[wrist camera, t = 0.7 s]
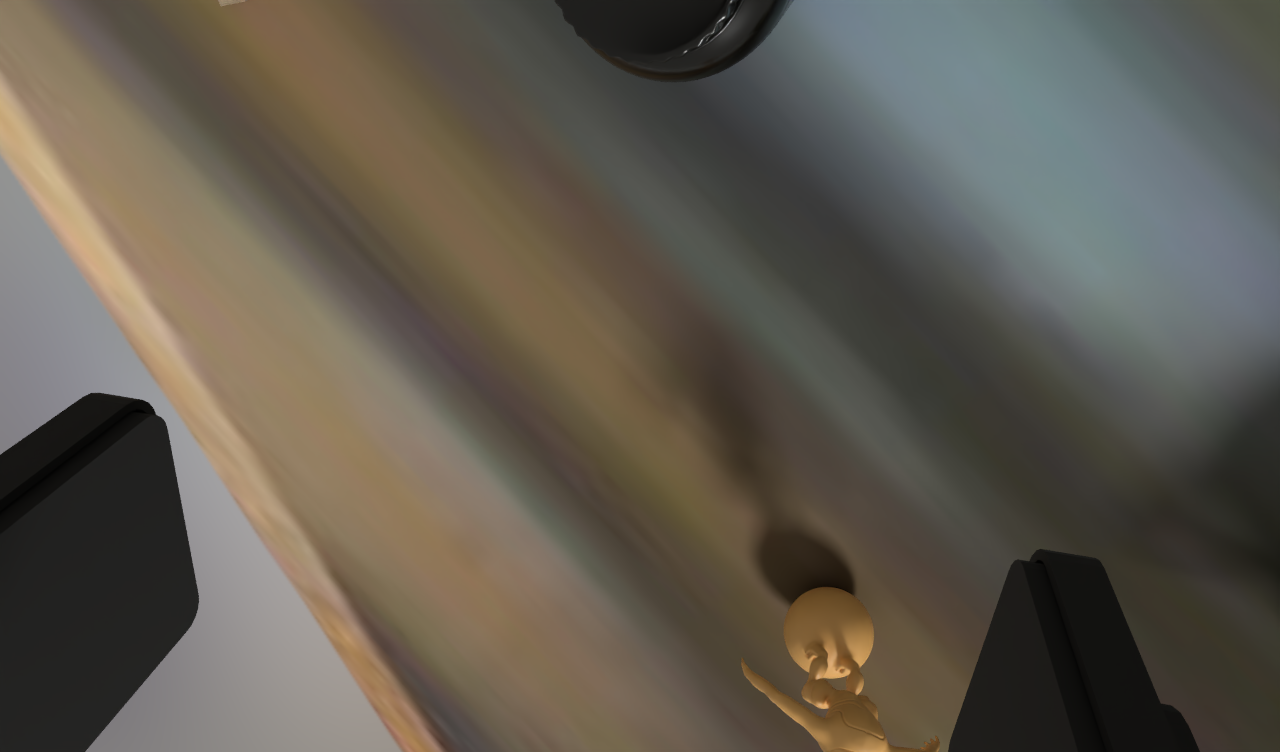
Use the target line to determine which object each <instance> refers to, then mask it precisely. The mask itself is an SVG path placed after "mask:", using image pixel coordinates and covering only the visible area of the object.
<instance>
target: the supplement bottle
mask: <svg viewBox="0 0 1280 752" xmlns="http://www.w3.org/2000/svg"><path fill="white" fill-rule="evenodd" d="M793 1H794V0H555V2H556V4H557V5H558V6H559V7H560V8H561V9H562V12H563V16H564V19H565V21H567V22H568V23H569V24H571V25H572V26H573V27H574V29H575V32H576V34H577V35H578V36H579V37H581V38H582V39H583V40H584V41H585V42H586V43H587V44H588V45H589V46H590V47H591V48H592V49H593V50H594V51H595V52H596V53H597V54H598V55H600V56H601V57H602V58H604V59H605V60H606V61H608V62H609V63H611V64H612V65H614V66H616V67H617V68H619V69H621V70H623V71H625V72H627V73H630V74H633V75H635V76H638V77H641V78H645V79H649V80H654V81H661V82H686V81H692V80H698V79H702V78H705V77H709V76H712V75H714V74H717V73H719V72H721V71H723V70H725V69H727V68H729V67H731V66H733V65H734V64H736V63H738V62H739V61H741V60H742V59H744V58H745V57H746V56H748V55H749V54H750V53H751V52H753V51H754V50H755V49H756V48H757V47H758V46H759V45H760V44H761V43H762V42H763V41H764V40H765V39H766V37H767V36H768V35H769V34H770V33H771V31H772V30H773V29H774V27H775V26H776V25H777V23H778V22H779V20H780V19H781V18H782V16H783V15H784V14H785V12H786V11H787V9H788V8H789V7H790V5H791V4H792V2H793Z"/></svg>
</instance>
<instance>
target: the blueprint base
mask: <svg viewBox="0 0 1280 752" xmlns="http://www.w3.org/2000/svg"><path fill="white" fill-rule="evenodd" d="M218 1H219V3H220V5H221V6H224V5H230V4H235V3H240V2H244V1H247V0H218Z"/></svg>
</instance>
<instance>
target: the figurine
mask: <svg viewBox="0 0 1280 752" xmlns="http://www.w3.org/2000/svg"><path fill="white" fill-rule="evenodd" d="M784 638H785V643H786V646H787V648H788V651H789V653H790V655H791V656H792V658H793V659H794V660H795V662H796V663H797V664H798V665H799V666H800V667H802V668H803V669H804V670H806V671H807V672H809V678H808V681H807V683H806V684H805V685H804V687H803V689H802V697H803V698H804V699H805V700H806V701H808V702H810V703H812V704H814V705H815V706H816V707H819V708H822V709H826V708H828V709H829V710H828V712H827V714H826V717H825V718H823V717H820V716H818V715H816V714H814V713H813V712H811V711H810V710H809V709H807V708H806V707H804V706H803V705H801V704H800V703H798V702H797V701H795V700H794V699H792V698H791V697H789V696H787V695H785V694H784V693H781V692H779V691H778V690H777V689H776V687H775V686H774V685H772V684H771V683H770V682H768V681H767V680H766V679H764V678H763V677H761V676H759V675H757V674H755V673H754V672H753V671H751V670H750V669H749V668H748V666H747V665H746V664H745V663H744V659H743V658H742V663H741V666H742V669H743V672H744V674H745V676H746V677H747V679H749V680H750V682H751V683H752V684H753V685H754V686H755V687H756V688H757V689H759V690H760V691H762V692H764V693H765V694H766V695H767V696H768V697H769V699H770V700H771V701H772V702H774V703H775V704H776V705H777V706H778V707H779V708H781V709H782V710H783V711H784V712H785V713H786V714H787V715H789V716H790V717H791V718H792V719H794V720H795V721H797V722H798V723H800V724H801V725H802V726H803V727H805V728H806V729H807V730H808V731H809V733H810V734H811V735H812V736H813V737H814V738H815V739H816V740H817V741H818V743H819V745H820V747H821V749H822V750H823V751H824V752H938V750H939V747H940V742H939V739H938V737H937V736H935V738H936V741H935V742H934V740H932V739H930V741H931V744H929V743H927V742H924V743H925V744H926V747H925V748H924V747H921V748H920V749H922V750H920V749H913V748H904V747H895V746H892V745H890V744H889V743H888V741H887V739H886V736H885V733H884V731H883V729H882V727H881V725H880V723H879V722H878V720H877V719H878V711H877V707H876V706H875V704H874V703H873V702H871V701H870V700H869V698H868V697H867V696H859V695H858V694H859V693H860V692H861V690H862V688H863V684H864V680H863V676H862V674H861V673H860V667H861V666H862V665H863V664H864V662H865V661H866V660H867V658H868V656H869V654H870V652H871V649H872V646H873V640H874V630H873V624H872V620H871V618H870V615H869V613H868V611H867V610H866V608H865V607H864V605H863V604H862V603H861V602H860V601H859V600H858V599H857V598H856V597H854V596H853V595H852V594H850V593H848V592H846V591H844V590H841V589H838V588H833V587H820V588H815V589H812V590H809V591H807V592H805V593H804V594H802V595H801V596H800V597H798V598H797V599H796V600H795V601H794V603H793V604H792V605H791V607H790V608H789V610H788V612H787V615H786V618H785V623H784ZM847 675H848V677H847V680H846V687H847V690H836V689H834V688H833V687H832V686H831V685H830V684H829V683H828V682H827V681H826V680H824V679H822V678H840V677H844V676H847Z"/></svg>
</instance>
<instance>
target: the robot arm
mask: <svg viewBox="0 0 1280 752" xmlns="http://www.w3.org/2000/svg"><path fill="white" fill-rule="evenodd" d="M198 603H199V595H198V589H197V584H196V579H195V574H194V568H193V563H192V557H191V552H190V547H189V541H188V536H187V530H186V526H185V520H184V515H183V509H182V504H181V499H180V494H179V488H178V483H177V477H176V472H175V466H174V461H173V456H172V451H171V445H170V440H169V434H168V430H167V426H166V423H165V421H164V420H163V419H162V418H161V417H159V416H157V415H156V414H155V411H154V409H153V407H152V406H151V405H150V404H149V403H148V402H146V401H144V400H140V399H133V398H128V397H121V396H115V395H109V394H104V393H90V394H88V395H86V396H84V397H82V398H81V399H79V400H78V401H77V402H75V403H74V404H72V405H71V406H69V407H68V408H67V409H66V410H64V411H62V412H61V413H59V414H58V415H57V416H55V417H54V418H52V419H51V420H49V421H48V422H47V423H46V424H44V425H42V426H41V427H39V428H38V429H36V430H35V431H34V432H32V433H31V434H30V435H28V436H27V437H25V438H24V439H22V440H21V441H19V442H18V443H17V444H15V445H14V446H12V447H11V448H9V449H8V450H6V451H5V452H4V453H2V454H1V455H0V752H85V751H86V750H87V749H88V748H89V746H90V745H91V744H92V743H93V742H94V740H95V739H96V738H97V737H98V736H99V734H100V733H101V732H102V731H103V730H104V729H105V727H106V726H107V725H108V724H109V723H110V722H111V720H112V719H113V718H114V717H115V716H116V714H117V713H118V712H119V711H120V710H121V709H122V707H123V706H124V705H125V703H127V701H128V700H129V699H130V698H131V697H132V696H133V694H134V693H135V692H136V691H137V690H138V688H139V687H140V686H141V685H142V684H143V682H144V681H145V680H146V679H147V678H148V677H149V675H150V674H151V673H152V672H153V671H154V670H155V668H156V667H157V666H158V665H159V664H160V662H161V661H162V660H163V659H164V658H165V656H166V655H167V654H168V653H169V652H170V651H171V649H172V648H173V647H174V646H175V645H176V644H177V642H178V641H179V640H180V639H181V638H182V636H183V635H184V634H185V633H186V631H187V630H188V629H189V628H190V626H191V625H192V623H193V621H194V619H195V616H196V613H197V610H198ZM948 752H1200V751H1199V748H1198V746H1197V744H1196V742H1195V739H1194V737H1193V735H1192V732H1191V730H1190V728H1189V726H1188V724H1187V723H1186V721H1185V719H1184V718H1183V716H1182V714H1181V713H1180V712H1179V711H1178V710H1176V709H1175V708H1174V707H1173V706H1171V705H1166V704H1161V703H1160V701H1159V699H1158V696H1157V694H1156V691H1155V689H1154V687H1153V684H1152V682H1151V679H1150V677H1149V675H1148V672H1147V670H1146V667H1145V665H1144V663H1143V660H1142V658H1141V655H1140V653H1139V650H1138V648H1137V646H1136V643H1135V641H1134V638H1133V636H1132V634H1131V631H1130V629H1129V626H1128V624H1127V622H1126V619H1125V617H1124V614H1123V612H1122V610H1121V607H1120V605H1119V602H1118V600H1117V597H1116V595H1115V593H1114V590H1113V588H1112V585H1111V583H1110V581H1109V578H1108V576H1107V573H1106V571H1105V569H1104V567H1103V565H1102V563H1101V562H1100V561H1099V560H1098V559H1096V558H1092V557H1086V556H1080V555H1074V554H1068V553H1062V552H1056V551H1050V550H1044V549H1039V550H1037V551H1036V552H1035V553H1034V554H1033V555H1032V557H1031V559H1030V561H1023V560H1015V561H1014V562H1013V564H1012V565H1011V567H1010V570H1009V572H1008V575H1007V578H1006V581H1005V584H1004V587H1003V589H1002V592H1001V595H1000V598H999V601H998V604H997V607H996V610H995V613H994V615H993V618H992V621H991V624H990V627H989V630H988V633H987V636H986V639H985V641H984V644H983V647H982V650H981V653H980V656H979V659H978V662H977V665H976V667H975V670H974V673H973V676H972V679H971V682H970V685H969V688H968V690H967V693H966V696H965V699H964V702H963V705H962V708H961V711H960V714H959V716H958V719H957V722H956V725H955V728H954V731H953V734H952V737H951V740H950V744H949V750H948Z"/></svg>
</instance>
